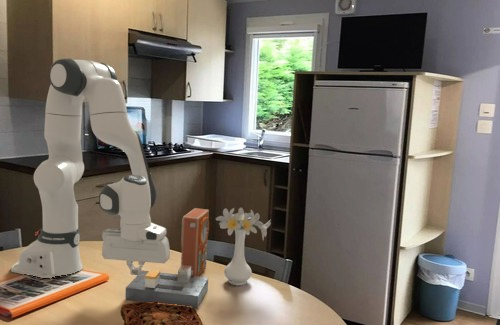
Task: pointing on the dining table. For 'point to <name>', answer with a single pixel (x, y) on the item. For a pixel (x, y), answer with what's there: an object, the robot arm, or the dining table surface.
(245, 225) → the flower vase
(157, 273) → the block
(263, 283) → the dining table surface
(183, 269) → the box
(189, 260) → the orange retro radio
